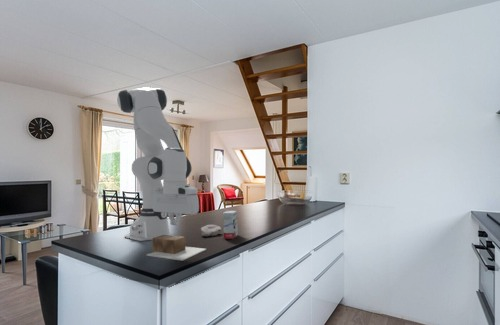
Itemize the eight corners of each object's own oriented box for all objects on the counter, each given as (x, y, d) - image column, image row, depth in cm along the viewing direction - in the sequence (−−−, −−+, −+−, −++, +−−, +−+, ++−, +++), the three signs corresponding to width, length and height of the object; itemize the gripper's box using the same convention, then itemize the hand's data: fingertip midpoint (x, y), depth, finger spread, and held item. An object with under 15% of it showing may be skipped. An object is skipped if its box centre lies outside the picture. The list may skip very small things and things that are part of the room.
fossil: (225, 228, 134) (209, 223, 127) (220, 241, 132) (205, 237, 125) (214, 224, 140) (199, 219, 133) (209, 237, 138) (194, 232, 132)
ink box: (233, 239, 122) (232, 212, 123) (223, 239, 123) (222, 212, 124) (238, 234, 131) (237, 210, 131) (228, 234, 132) (227, 210, 132)
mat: (146, 255, 101) (146, 254, 101) (172, 246, 114) (172, 245, 114) (182, 260, 94) (182, 259, 94) (206, 249, 107) (206, 248, 107)
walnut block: (174, 254, 101) (152, 251, 106) (185, 249, 106) (163, 247, 111) (174, 240, 101) (151, 238, 106) (185, 236, 106) (163, 234, 111)
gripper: (148, 188, 107) (148, 223, 107) (191, 190, 99) (190, 228, 98) (160, 187, 113) (160, 221, 113) (201, 189, 105) (201, 225, 104)
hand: (174, 224), depth 106 cm, fingers closed
